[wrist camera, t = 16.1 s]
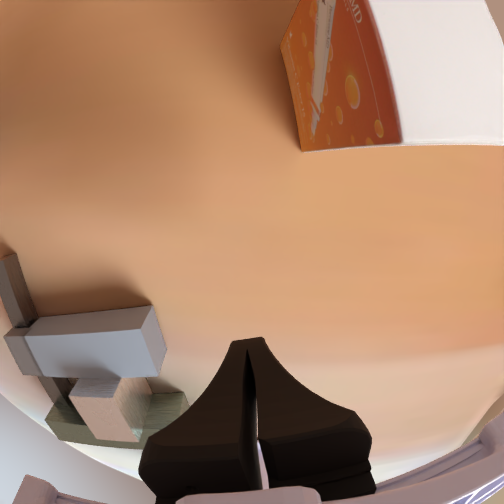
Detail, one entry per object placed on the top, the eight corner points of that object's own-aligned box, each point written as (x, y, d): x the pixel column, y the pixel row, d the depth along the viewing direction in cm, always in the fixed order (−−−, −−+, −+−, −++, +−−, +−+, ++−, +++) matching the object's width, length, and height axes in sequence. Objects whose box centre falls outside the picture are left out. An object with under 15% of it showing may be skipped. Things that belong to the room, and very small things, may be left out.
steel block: (152, 393, 24) (139, 442, 18) (115, 394, 24) (96, 439, 18) (134, 350, 23) (112, 398, 17) (95, 352, 23) (68, 395, 17)
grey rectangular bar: (167, 349, 22) (158, 376, 19) (39, 354, 22) (22, 374, 19) (152, 305, 21) (140, 328, 18) (23, 318, 21) (3, 336, 18)
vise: (192, 414, 25) (188, 449, 21) (73, 412, 25) (59, 439, 20) (133, 226, 20) (108, 242, 15) (3, 256, 20) (-28, 273, 15)
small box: (277, 46, 17) (331, -77, 4) (360, 44, 17) (470, -36, 4) (299, 155, 19) (403, 148, 7) (382, 146, 19) (528, 147, 7)
